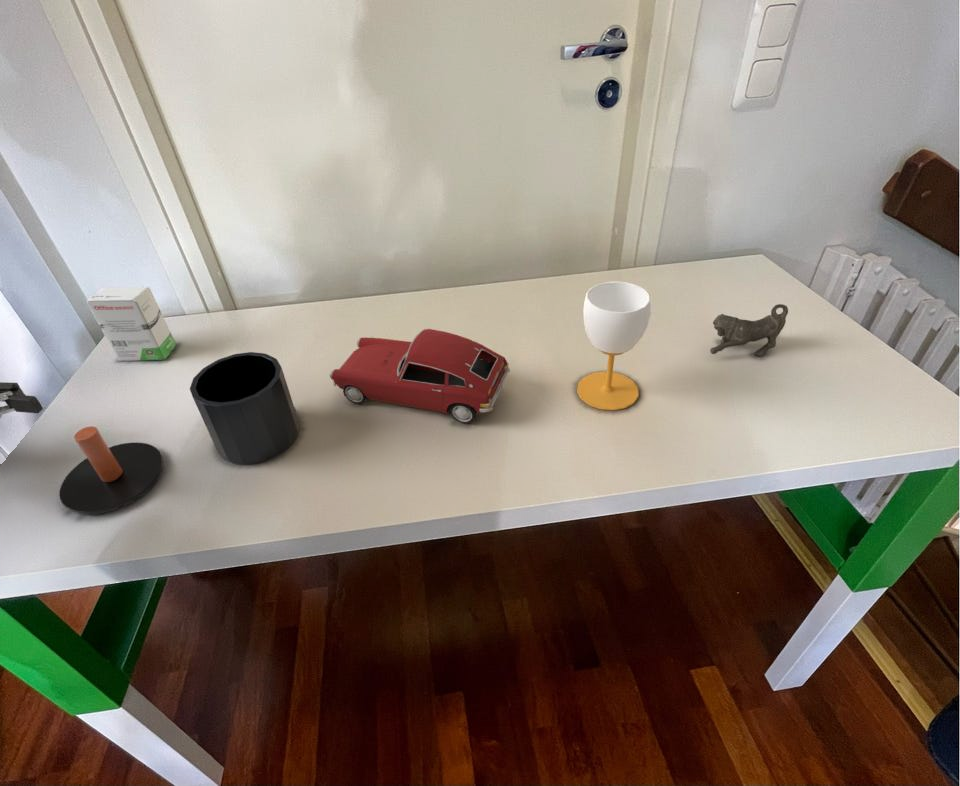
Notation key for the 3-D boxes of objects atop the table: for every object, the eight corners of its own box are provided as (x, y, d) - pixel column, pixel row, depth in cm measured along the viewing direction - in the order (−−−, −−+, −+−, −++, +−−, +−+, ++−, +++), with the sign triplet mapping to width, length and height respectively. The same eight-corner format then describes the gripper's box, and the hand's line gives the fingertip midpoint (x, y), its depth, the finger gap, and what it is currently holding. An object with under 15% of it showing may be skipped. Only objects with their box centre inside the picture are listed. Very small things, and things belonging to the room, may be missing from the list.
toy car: (364, 359, 98) (353, 307, 91) (512, 383, 91) (511, 328, 85) (331, 401, 90) (316, 346, 83) (491, 431, 83) (488, 374, 77)
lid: (47, 524, 74) (9, 477, 68) (83, 455, 83) (52, 408, 78) (151, 509, 75) (122, 461, 69) (174, 442, 84) (150, 395, 79)
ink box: (178, 344, 104) (151, 284, 97) (164, 361, 100) (136, 300, 93) (131, 344, 105) (101, 285, 97) (116, 361, 101) (83, 300, 93)
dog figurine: (767, 334, 98) (780, 294, 93) (785, 354, 93) (798, 313, 89) (696, 341, 97) (705, 301, 93) (710, 361, 93) (720, 321, 88)
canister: (209, 470, 80) (181, 411, 73) (224, 415, 88) (200, 358, 82) (296, 458, 81) (275, 398, 74) (302, 405, 89) (284, 347, 83)
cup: (573, 374, 92) (578, 281, 82) (631, 371, 92) (644, 278, 82) (581, 412, 85) (588, 316, 75) (645, 409, 85) (661, 312, 75)
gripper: (-170, 435, 70) (-52, 445, 67) (-67, 363, 80) (39, 369, 78) (-126, 478, 74) (-14, 489, 72) (-34, 405, 85) (66, 412, 83)
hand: (13, 427), depth 75 cm, fingers open, 8 cm apart
